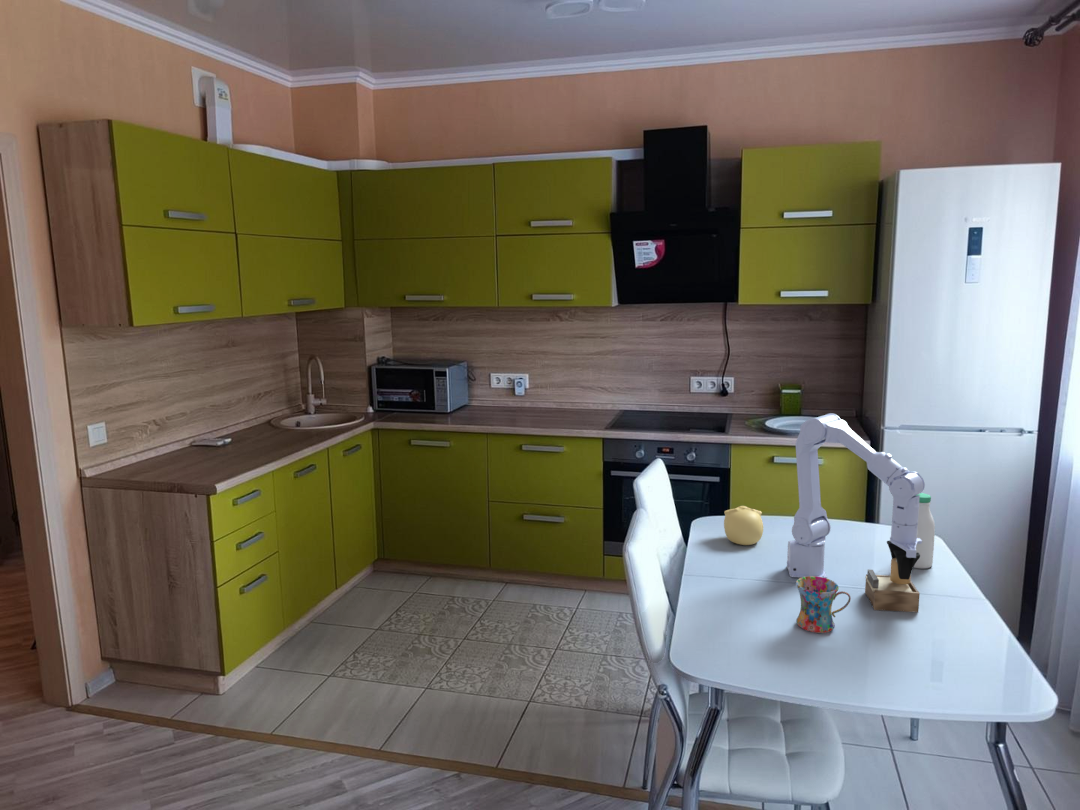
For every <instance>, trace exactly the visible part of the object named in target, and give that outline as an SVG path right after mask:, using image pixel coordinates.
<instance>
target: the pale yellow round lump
mask: <svg viewBox="0 0 1080 810" xmlns="http://www.w3.org/2000/svg"><path fill="white" fill-rule="evenodd" d="M723 512H724V515H725V516H724V518H723V529H724V533H725V536H726V538H727V539H728V541H730V542H731V543H734V544H737V545H741V546H742V545H743V546H751V545H754V544H757V543H758V542H760V540H761V539H762V537H763V535H764V534H763V533H764V523H763V519H762V514H763V512H762V511H761V510H758V509H756V508H755V509H754V508H750V507H748V506H746V505H740V506H739V505H738V507H736V508H730V509H727V510H724V511H723Z"/></svg>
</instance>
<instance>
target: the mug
mask: <svg viewBox="0 0 1080 810" xmlns="http://www.w3.org/2000/svg"><path fill="white" fill-rule="evenodd" d="M795 585H796V587H797V590H798V593H799V597H800V611H799V614H798V616H797V618H796V620H795V621H796V624H797V626H798V627H800V628H801V629H803V630H804V631H807V632H810V633H818V634H822V633H823V634H825V633H829V632H831V631H833V630H834V629H835V627H836V624H835V621H834V620H833V618H836V615H835V614H836V613H839V612H841V611H843V610H845V608H847V607H848V606H849V604H850V602H851V599H852V598H851V595H850V593H848V592H846V591H838V590H839V588H840V587H839V585H838V584H837V582H835V581H834V580H831V579H829V578H828V577H827V578H823V577H816V576H808V577H802V578H800V577H798V579H797V580H796V581H795ZM839 595H846V596H847V597H848V599H847V602H846V603H845V604H844V605H843V606H842V607H840V608H838V609H836V610H834V611H832V607H833V602H834V601H835V600H836V598H837V597H838V596H839Z"/></svg>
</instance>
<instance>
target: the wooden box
mask: <svg viewBox="0 0 1080 810" xmlns="http://www.w3.org/2000/svg"><path fill="white" fill-rule="evenodd" d="M866 576H867V574H865V577H866ZM876 576H877V577H890V574H889V575H887V574H885V575H884V574H876ZM908 585H909V587H910V588H911V590H912V591H913V592H905V591H885V590H875V592H873V591H872V589H871V587H870V585H869V584H868V582H867V580H866V579H865V588H864V589H865V590H864V591H865V592H864V594H865V596H866V597H867V599H868V601H869V602H870V604H871V607H872V606H873V607H872V609H873V608H874V609H873V610H874V611H888V612H903V613H904V612H906V613H908V612H909V613H919V609H920V608H919V606H920V594H921V593H920V592H919V590H918V589H917V587H916V585H915V584H914V583H913V582H912V580H911V582H910V583H909V584H908Z"/></svg>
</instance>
